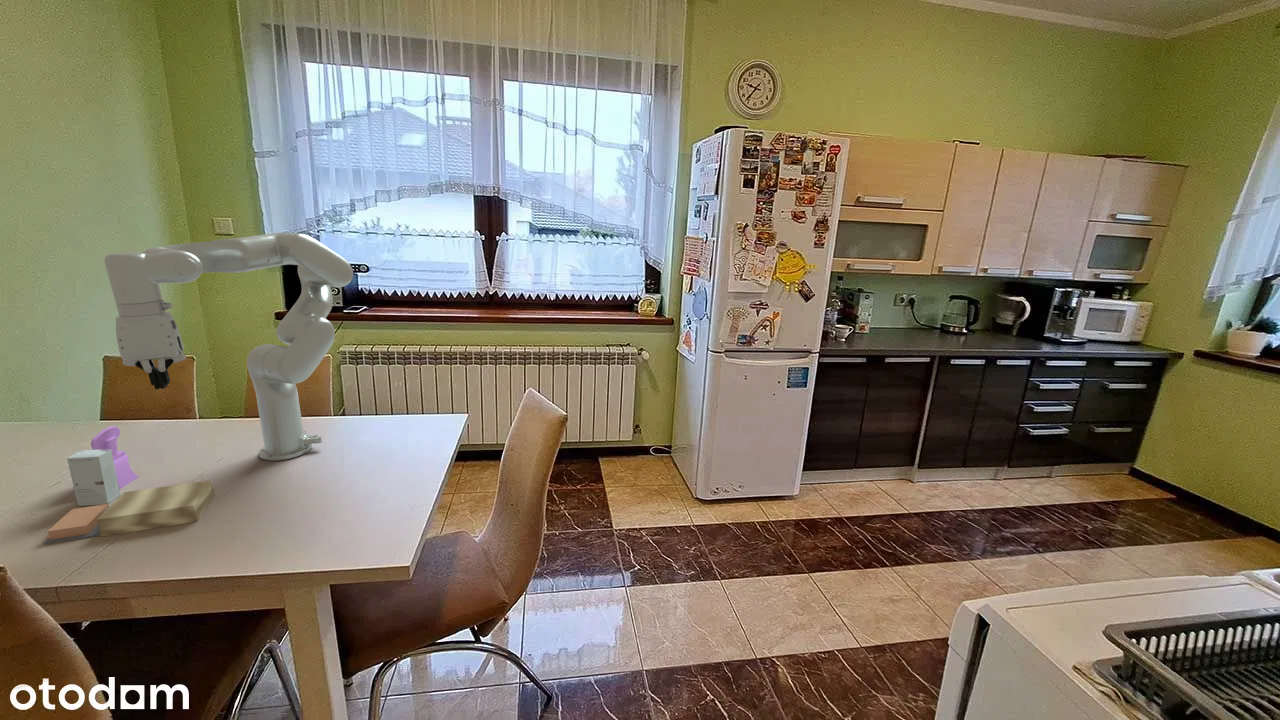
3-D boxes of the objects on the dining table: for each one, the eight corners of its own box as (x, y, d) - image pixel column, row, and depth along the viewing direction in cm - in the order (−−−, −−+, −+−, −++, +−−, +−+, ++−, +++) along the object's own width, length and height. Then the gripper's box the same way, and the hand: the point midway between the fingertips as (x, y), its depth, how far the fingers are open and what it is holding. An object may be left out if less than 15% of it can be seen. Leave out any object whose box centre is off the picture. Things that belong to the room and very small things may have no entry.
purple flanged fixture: (101, 477, 131) (87, 422, 127) (141, 475, 133) (128, 421, 129) (73, 493, 123) (57, 436, 119) (116, 491, 125) (102, 434, 121)
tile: (72, 508, 113) (74, 517, 114) (47, 531, 105) (50, 539, 106) (108, 503, 116) (110, 511, 116) (86, 525, 108) (89, 533, 108)
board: (214, 495, 125) (211, 480, 124) (197, 521, 114) (193, 505, 113) (128, 507, 118) (124, 492, 117) (101, 536, 108) (96, 519, 107)
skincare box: (77, 506, 118) (63, 458, 115) (92, 496, 122) (79, 450, 119) (109, 504, 119) (96, 456, 116) (123, 494, 124) (111, 448, 120)
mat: (127, 508, 118) (126, 507, 118) (102, 535, 108) (102, 533, 108) (73, 516, 114) (73, 515, 114) (43, 544, 105) (43, 543, 105)
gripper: (189, 304, 120) (206, 378, 126) (103, 308, 114) (125, 386, 119) (179, 310, 114) (198, 388, 119) (87, 315, 107) (112, 397, 113)
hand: (161, 387), depth 119 cm, fingers closed
